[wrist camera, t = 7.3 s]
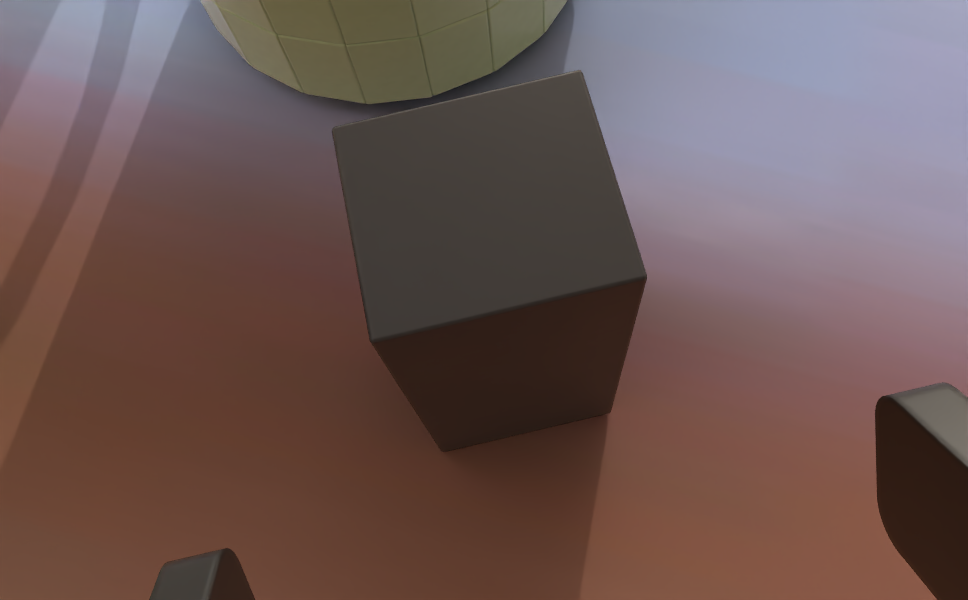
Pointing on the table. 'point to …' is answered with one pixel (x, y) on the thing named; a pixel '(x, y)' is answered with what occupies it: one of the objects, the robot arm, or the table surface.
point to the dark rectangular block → (493, 257)
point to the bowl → (380, 42)
